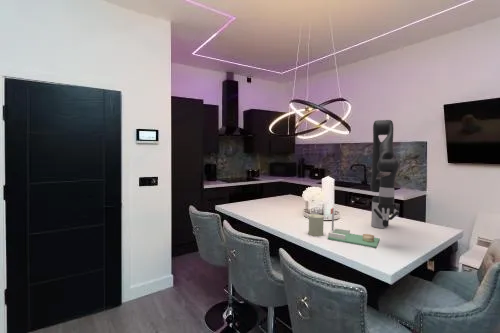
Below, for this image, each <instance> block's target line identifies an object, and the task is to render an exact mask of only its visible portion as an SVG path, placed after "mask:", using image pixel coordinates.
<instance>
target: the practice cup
mask: <svg viewBox="0 0 500 333" xmlns="http://www.w3.org/2000/svg"><path fill="white" fill-rule="evenodd" d="M330 215H331V230H330V231H328V232H327V233H328V235H327V238H328V237H331V238H337V239H342V240H345V236H346V235H343V234H348V235H349V234H351V233H350V231H351V230H350V229H346V228H345V229H344V228H338V227H334V225H335V223H334V220H335V219H334V218H335V207H332V208H331V209H330ZM337 233H342V234H337Z"/></svg>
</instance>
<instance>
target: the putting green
mask: <svg viewBox="0 0 500 333" xmlns="http://www.w3.org/2000/svg"><path fill="white" fill-rule="evenodd" d="M337 234H342V233H337ZM343 235H346V236H345V240H342V239H337V238H331V237H328V236H327V240H329V241H335V242H339V243H345V244H351V245H358V246H363V247H368V248H372V249H376V248H377V247H378V244H379V242H380V237H375V236H374V242H365V241H363V234H355V233H350V234H349V235H348V234H343Z"/></svg>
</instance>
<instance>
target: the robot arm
mask: <svg viewBox="0 0 500 333" xmlns="http://www.w3.org/2000/svg"><path fill="white" fill-rule="evenodd" d="M379 136H385V138H384V139H383V140H382V141H381V139H380V138H379ZM372 138H373V139H372V141H373V142H372V153H371V154H372V156H371V175H370V176H371V179H370V191H371V192H373V193H378V195H377V196H372V199H371V221H370V222H371V223H370V224H371V225H370V226H371V227H373V228H376V229H386V228H388V226H389V224H390V222H389V221H392V220H393V219H394V218H395V217H396V216H397V215H398V214H399V213H400V211H399V210H397V209H396V207H395V179H396V176H397V174H398V170H399V167H400V164H399V161H398V159H395V158H394V157H395V156H394V155H395V154H394V146H393V142H394V123H393V120H392V119H383V120H382V119H380V120H379V119H377V120H375V121H374V122H373V126H372ZM380 173H390V174H389V175H384V176H381V177H380V178H378V176H379V174H380ZM392 213H393V214H392ZM390 214H392V215H391V216H390Z"/></svg>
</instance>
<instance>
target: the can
mask: <svg viewBox="0 0 500 333" xmlns="http://www.w3.org/2000/svg"><path fill="white" fill-rule="evenodd" d="M324 218H325V216H324V215H323V214H314V213H313V214H309V215H308V233H307V234H308V235H309V236H312V237H323V236H324Z"/></svg>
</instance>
